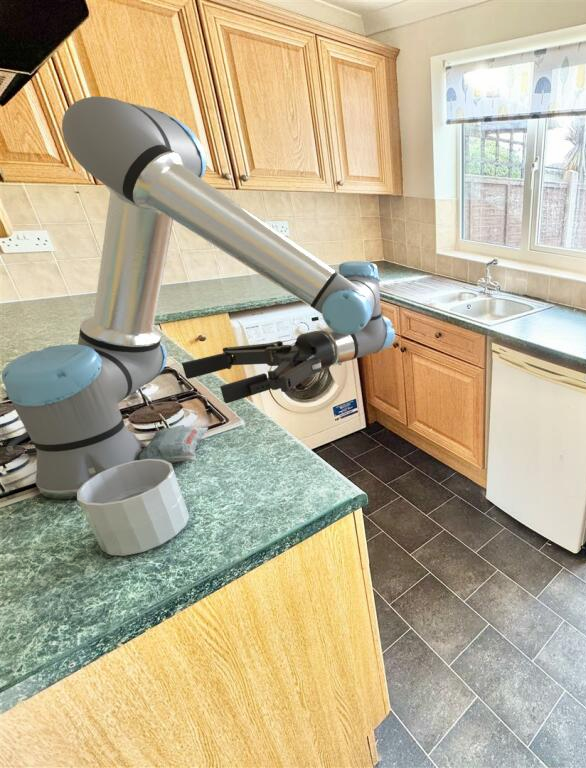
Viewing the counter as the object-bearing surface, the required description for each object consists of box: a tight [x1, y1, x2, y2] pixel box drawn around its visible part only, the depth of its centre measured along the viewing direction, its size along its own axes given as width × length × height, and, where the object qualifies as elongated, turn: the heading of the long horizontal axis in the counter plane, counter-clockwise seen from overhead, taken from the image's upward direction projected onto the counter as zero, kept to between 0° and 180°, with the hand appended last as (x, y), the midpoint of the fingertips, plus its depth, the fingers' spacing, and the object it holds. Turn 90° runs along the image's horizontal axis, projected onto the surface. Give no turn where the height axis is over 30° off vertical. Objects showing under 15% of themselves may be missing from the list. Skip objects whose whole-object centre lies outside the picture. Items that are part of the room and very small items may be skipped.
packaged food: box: [139, 424, 209, 464], centre depth 83 cm, size 9×12×5 cm
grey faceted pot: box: [76, 459, 190, 557], centre depth 64 cm, size 11×11×10 cm
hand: (202, 382), depth 66 cm, fingers open, 13 cm apart
